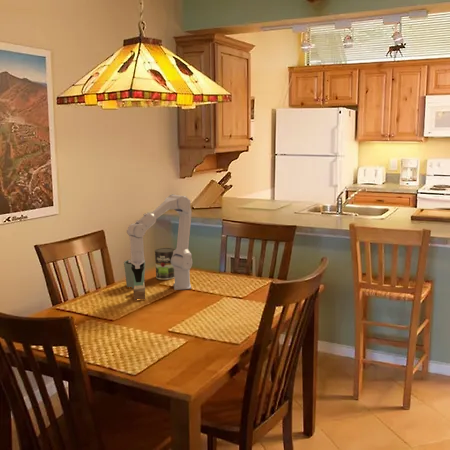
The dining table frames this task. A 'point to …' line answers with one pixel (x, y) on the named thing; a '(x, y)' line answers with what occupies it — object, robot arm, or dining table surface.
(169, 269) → the coffee can
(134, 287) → the cream block
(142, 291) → the walnut block
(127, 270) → the teal cup
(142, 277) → the teal block
